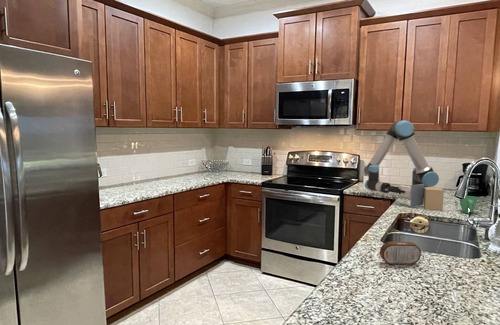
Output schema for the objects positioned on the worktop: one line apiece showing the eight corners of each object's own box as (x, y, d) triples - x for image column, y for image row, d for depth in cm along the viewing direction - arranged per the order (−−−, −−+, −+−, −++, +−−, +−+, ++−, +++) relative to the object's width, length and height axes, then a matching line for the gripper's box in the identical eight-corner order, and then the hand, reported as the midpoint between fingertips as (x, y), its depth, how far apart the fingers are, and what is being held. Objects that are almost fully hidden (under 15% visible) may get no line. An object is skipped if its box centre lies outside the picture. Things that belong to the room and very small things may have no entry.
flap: (423, 205, 228) (424, 184, 227) (411, 206, 222) (413, 185, 221) (407, 201, 239) (408, 181, 238) (395, 203, 233) (396, 183, 231)
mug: (457, 210, 218) (458, 195, 217) (474, 211, 214) (475, 196, 213) (461, 215, 205) (462, 199, 204) (480, 216, 201) (481, 200, 200)
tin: (417, 262, 128) (418, 241, 128) (421, 265, 125) (423, 243, 124) (378, 262, 128) (379, 240, 128) (382, 265, 125) (383, 243, 124)
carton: (440, 207, 225) (441, 188, 223) (442, 211, 215) (443, 190, 214) (423, 206, 228) (424, 187, 227) (425, 209, 219) (426, 189, 218)
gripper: (391, 191, 251) (419, 196, 230) (375, 193, 243) (403, 199, 222) (391, 181, 250) (420, 186, 229) (375, 183, 242) (404, 187, 222)
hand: (411, 192), depth 226 cm, fingers closed on flap, 4 cm apart
